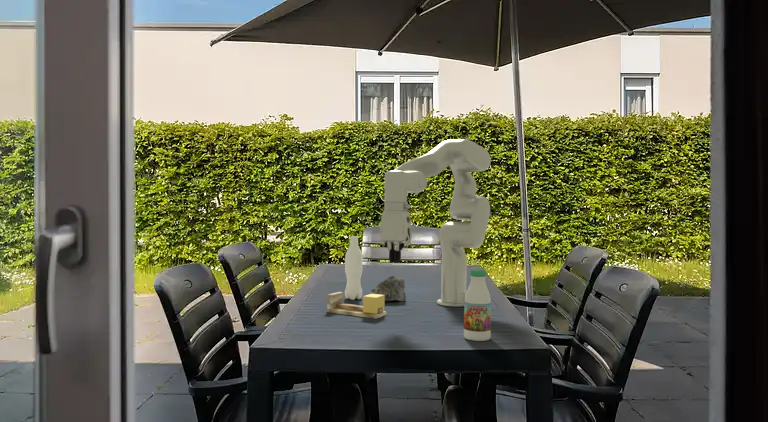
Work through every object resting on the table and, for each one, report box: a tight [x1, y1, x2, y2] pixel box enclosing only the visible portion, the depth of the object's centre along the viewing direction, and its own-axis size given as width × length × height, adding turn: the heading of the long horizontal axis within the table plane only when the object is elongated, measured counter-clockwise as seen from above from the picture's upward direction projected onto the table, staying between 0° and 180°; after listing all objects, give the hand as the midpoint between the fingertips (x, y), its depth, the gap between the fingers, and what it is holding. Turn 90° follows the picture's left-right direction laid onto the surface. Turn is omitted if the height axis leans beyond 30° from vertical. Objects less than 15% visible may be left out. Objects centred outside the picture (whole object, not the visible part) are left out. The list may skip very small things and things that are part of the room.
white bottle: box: [344, 235, 364, 301], centre depth 223 cm, size 7×7×25 cm
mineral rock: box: [370, 275, 407, 302], centre depth 220 cm, size 13×11×10 cm
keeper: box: [362, 293, 386, 314], centre depth 192 cm, size 5×6×6 cm
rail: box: [326, 291, 387, 320], centre depth 196 cm, size 20×7×6 cm, turn 60°
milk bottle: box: [463, 269, 492, 342], centre depth 163 cm, size 8×8×20 cm
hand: (394, 262), depth 188 cm, fingers closed
